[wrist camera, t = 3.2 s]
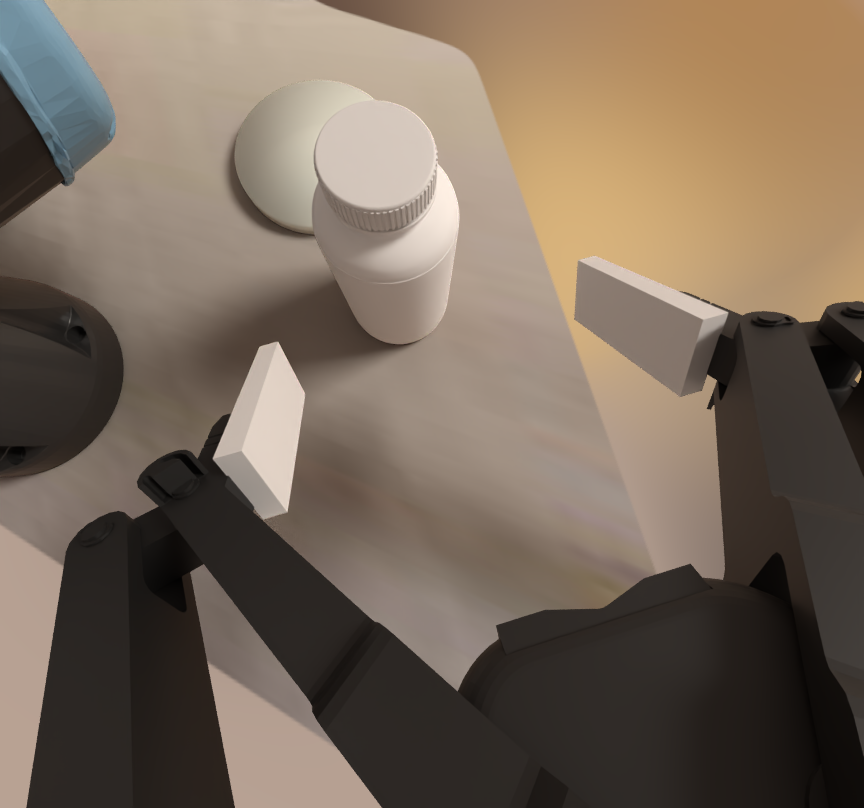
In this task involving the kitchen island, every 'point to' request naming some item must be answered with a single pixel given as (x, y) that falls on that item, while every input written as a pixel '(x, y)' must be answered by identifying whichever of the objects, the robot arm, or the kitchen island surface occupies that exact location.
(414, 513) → the kitchen island surface
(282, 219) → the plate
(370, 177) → the pill bottle
